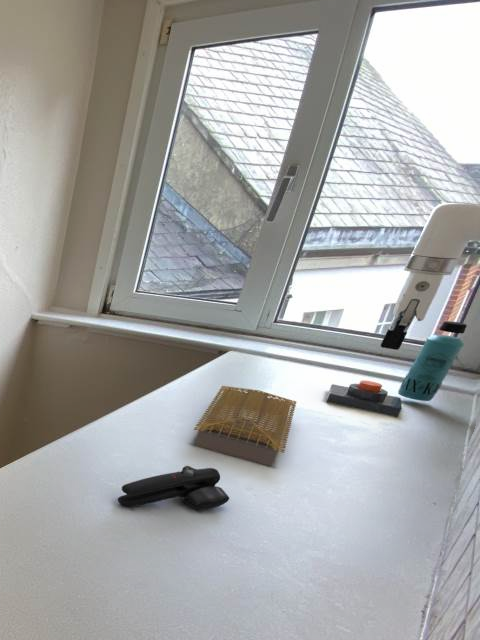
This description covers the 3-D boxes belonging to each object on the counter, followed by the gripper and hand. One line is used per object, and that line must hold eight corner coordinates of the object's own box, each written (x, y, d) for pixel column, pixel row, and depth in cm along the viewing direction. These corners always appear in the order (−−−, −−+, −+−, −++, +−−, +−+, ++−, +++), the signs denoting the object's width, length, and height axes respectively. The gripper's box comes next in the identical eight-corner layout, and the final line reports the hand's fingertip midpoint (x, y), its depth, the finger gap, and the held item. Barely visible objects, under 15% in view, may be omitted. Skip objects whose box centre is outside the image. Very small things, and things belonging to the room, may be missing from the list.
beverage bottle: (389, 395, 140) (430, 317, 131) (423, 400, 137) (467, 321, 128) (399, 403, 134) (443, 322, 125) (434, 409, 132) (481, 327, 123)
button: (378, 390, 132) (382, 383, 131) (378, 394, 129) (382, 387, 128) (357, 386, 134) (360, 379, 133) (356, 390, 131) (360, 383, 130)
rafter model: (276, 469, 99) (290, 439, 97) (187, 444, 108) (198, 416, 105) (290, 416, 124) (301, 390, 121) (217, 399, 132) (226, 375, 129)
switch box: (396, 406, 133) (404, 390, 131) (397, 417, 126) (406, 401, 124) (328, 392, 140) (335, 377, 138) (326, 401, 133) (333, 386, 132)
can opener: (198, 488, 92) (209, 458, 90) (231, 510, 86) (244, 479, 83) (103, 493, 89) (112, 463, 87) (130, 517, 83) (140, 485, 81)
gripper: (458, 270, 111) (412, 358, 119) (451, 264, 121) (409, 345, 130) (408, 266, 116) (367, 350, 124) (405, 260, 126) (368, 339, 134)
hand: (389, 347), depth 127 cm, fingers closed
